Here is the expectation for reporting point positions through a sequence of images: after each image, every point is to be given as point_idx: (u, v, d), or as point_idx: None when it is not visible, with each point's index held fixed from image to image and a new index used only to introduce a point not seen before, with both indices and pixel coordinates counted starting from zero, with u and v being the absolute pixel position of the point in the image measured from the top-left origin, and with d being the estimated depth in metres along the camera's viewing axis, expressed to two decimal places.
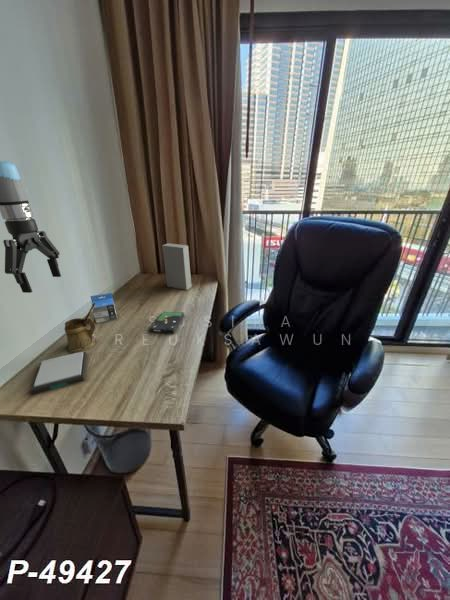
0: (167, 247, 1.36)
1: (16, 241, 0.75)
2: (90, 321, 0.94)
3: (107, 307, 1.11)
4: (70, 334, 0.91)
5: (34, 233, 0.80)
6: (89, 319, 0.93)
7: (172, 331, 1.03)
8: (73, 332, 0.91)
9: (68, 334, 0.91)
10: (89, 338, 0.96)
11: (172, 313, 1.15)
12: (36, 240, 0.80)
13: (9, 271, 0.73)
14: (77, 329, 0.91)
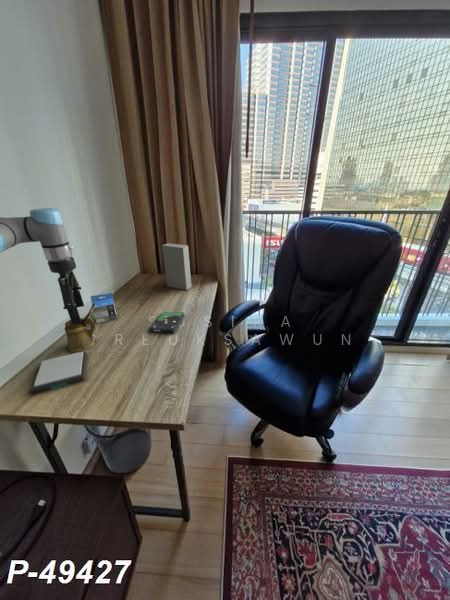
0: (167, 247, 1.36)
1: None
2: (90, 321, 0.94)
3: (107, 307, 1.11)
4: (70, 334, 0.91)
5: None
6: (89, 319, 0.93)
7: (172, 331, 1.03)
8: (73, 332, 0.91)
9: (68, 334, 0.91)
10: (89, 338, 0.96)
11: (172, 313, 1.15)
12: (73, 275, 0.87)
13: (69, 306, 0.80)
14: (77, 329, 0.91)
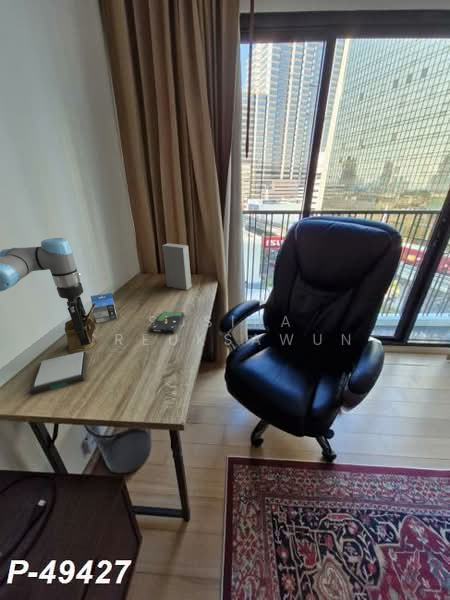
0: (167, 247, 1.36)
1: (74, 304, 0.86)
2: (90, 321, 0.94)
3: (107, 307, 1.11)
4: (70, 334, 0.91)
5: None
6: (89, 319, 0.93)
7: (172, 331, 1.03)
8: (73, 332, 0.91)
9: (68, 335, 0.91)
10: (89, 338, 0.96)
11: (172, 313, 1.15)
12: (80, 299, 0.91)
13: (80, 330, 0.88)
14: None
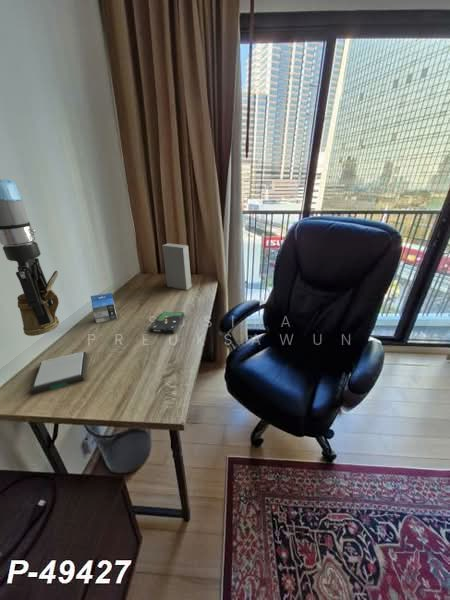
0: (167, 247, 1.36)
1: (26, 269, 0.66)
2: (51, 294, 0.74)
3: (107, 307, 1.11)
4: (24, 310, 0.71)
5: (32, 257, 0.71)
6: (50, 292, 0.74)
7: (172, 331, 1.03)
8: (28, 307, 0.71)
9: (21, 310, 0.72)
10: (52, 316, 0.76)
11: (172, 313, 1.15)
12: (37, 265, 0.72)
13: (34, 304, 0.68)
14: None
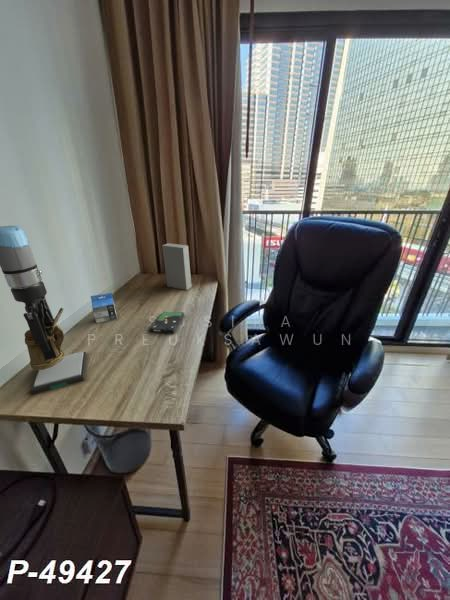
0: (167, 247, 1.36)
1: (33, 310, 0.69)
2: (57, 330, 0.76)
3: (107, 307, 1.11)
4: (31, 346, 0.74)
5: None
6: (56, 327, 0.76)
7: (172, 331, 1.03)
8: (35, 344, 0.73)
9: (28, 347, 0.74)
10: (57, 350, 0.79)
11: (172, 313, 1.15)
12: (44, 302, 0.74)
13: (41, 342, 0.70)
14: None
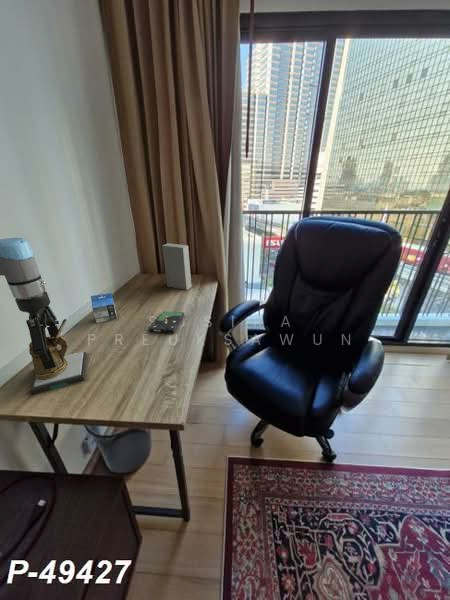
0: (167, 247, 1.36)
1: None
2: (61, 340, 0.78)
3: (107, 307, 1.11)
4: (35, 357, 0.75)
5: None
6: (59, 338, 0.78)
7: (172, 331, 1.03)
8: None
9: (33, 357, 0.76)
10: (61, 360, 0.81)
11: (172, 313, 1.15)
12: (47, 311, 0.76)
13: (40, 351, 0.68)
14: None
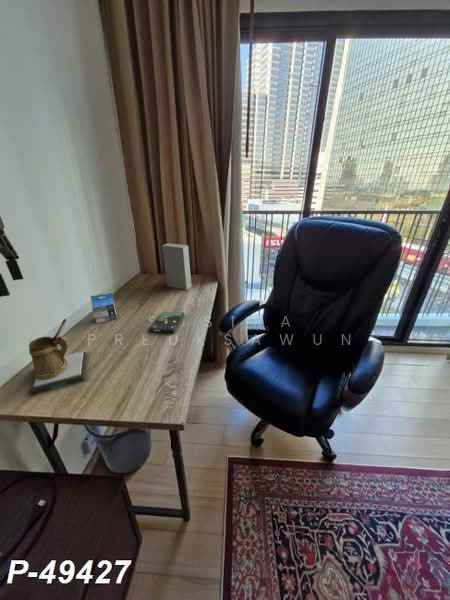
0: (167, 247, 1.36)
1: None
2: (61, 340, 0.78)
3: (107, 307, 1.11)
4: (35, 357, 0.75)
5: None
6: (59, 338, 0.78)
7: (172, 331, 1.03)
8: (39, 354, 0.75)
9: (33, 357, 0.76)
10: (61, 360, 0.81)
11: (172, 313, 1.15)
12: (2, 238, 0.73)
13: None
14: (43, 351, 0.75)
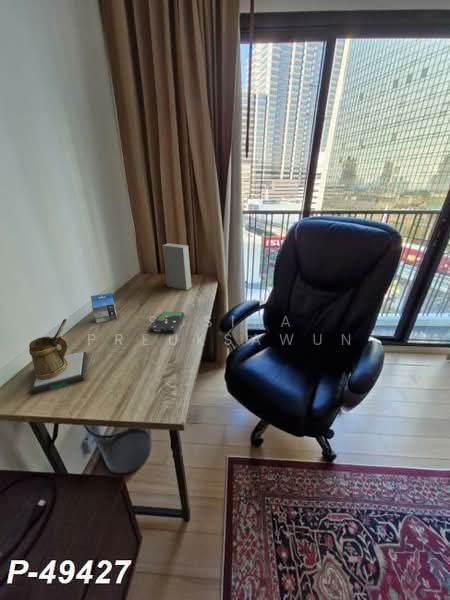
0: (167, 247, 1.36)
1: None
2: (61, 340, 0.78)
3: (107, 307, 1.11)
4: (35, 357, 0.75)
5: None
6: (59, 338, 0.78)
7: (172, 331, 1.03)
8: (39, 354, 0.75)
9: (33, 357, 0.76)
10: (61, 360, 0.81)
11: (172, 313, 1.15)
12: None
13: None
14: (43, 351, 0.75)
